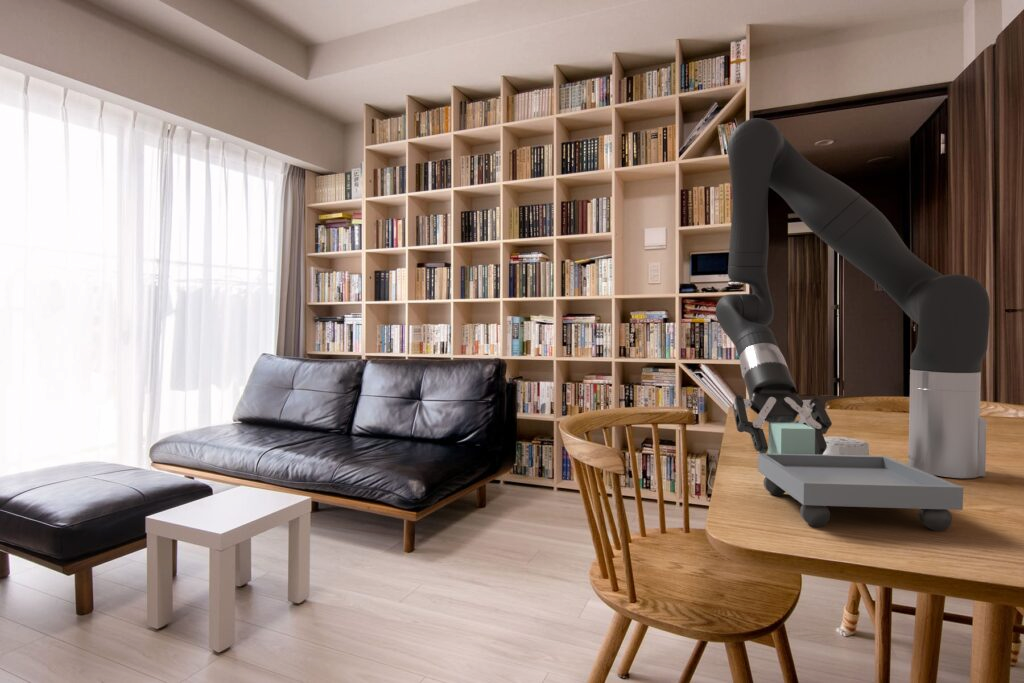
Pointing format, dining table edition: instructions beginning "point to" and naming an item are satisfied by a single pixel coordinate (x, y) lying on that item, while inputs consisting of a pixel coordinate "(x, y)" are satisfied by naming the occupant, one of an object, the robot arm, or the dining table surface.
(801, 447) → the sage part block
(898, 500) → the grey shallow tray
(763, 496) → the dining table surface
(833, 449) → the mechanical component
